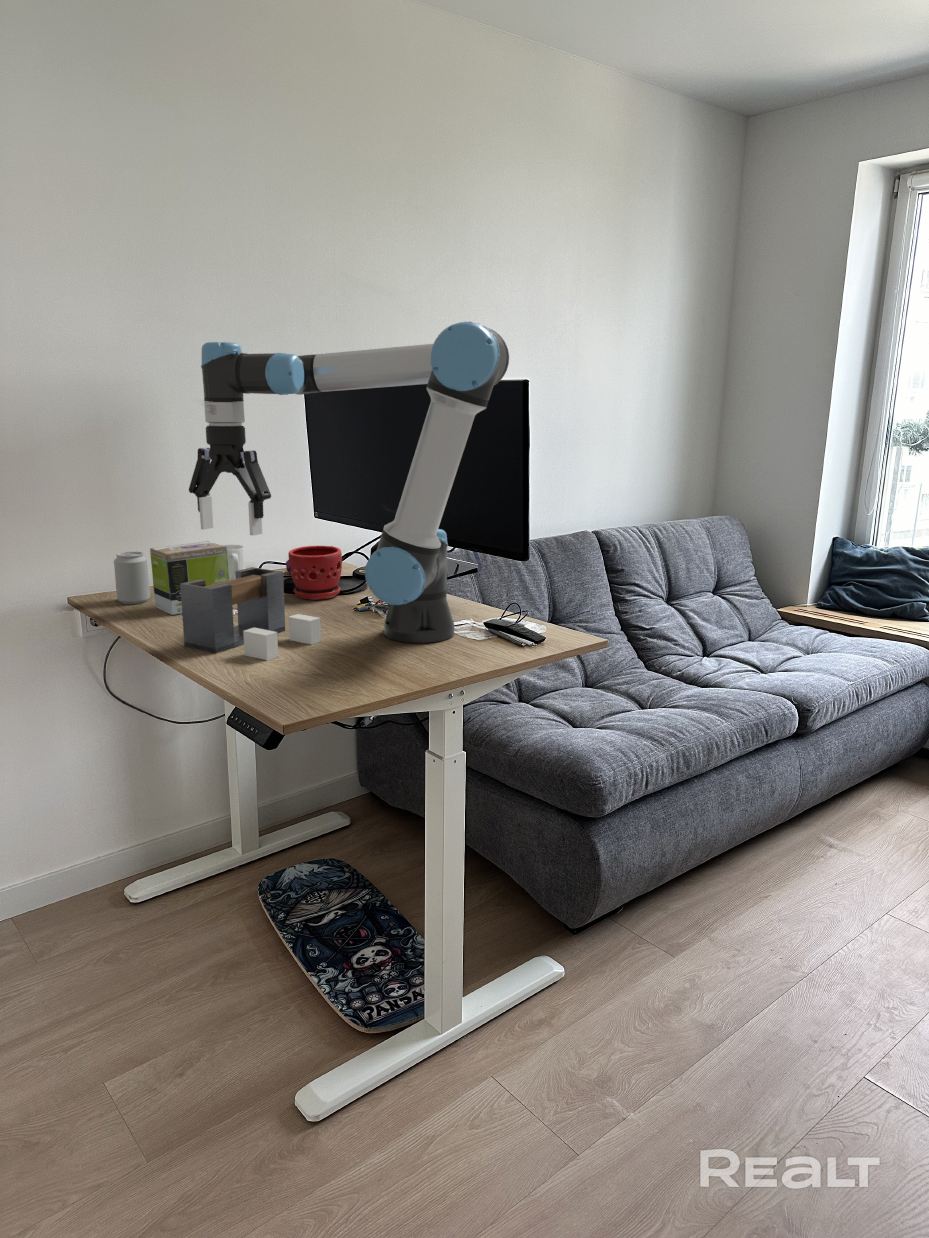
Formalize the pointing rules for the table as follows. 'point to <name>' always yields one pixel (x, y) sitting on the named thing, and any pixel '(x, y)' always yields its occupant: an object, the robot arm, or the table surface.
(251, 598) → the rail
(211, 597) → the brackets
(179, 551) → the tea box
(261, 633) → the blocks
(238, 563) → the mug
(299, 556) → the plant pot
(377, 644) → the table surface
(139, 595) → the can
